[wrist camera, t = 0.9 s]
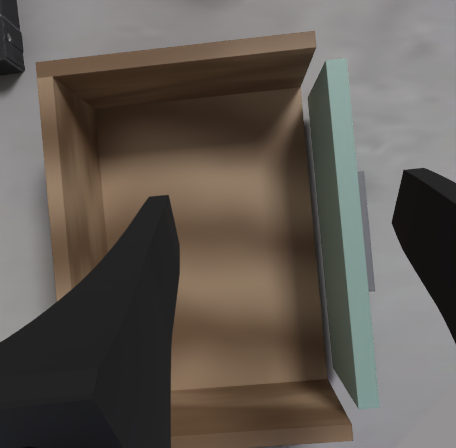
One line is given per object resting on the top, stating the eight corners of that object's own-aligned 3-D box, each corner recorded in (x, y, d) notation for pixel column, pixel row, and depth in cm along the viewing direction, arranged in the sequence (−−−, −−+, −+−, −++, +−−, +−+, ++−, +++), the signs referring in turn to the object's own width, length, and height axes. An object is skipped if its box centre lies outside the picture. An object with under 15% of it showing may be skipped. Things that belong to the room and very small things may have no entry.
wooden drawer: (323, 382, 26) (353, 440, 19) (117, 397, 26) (70, 459, 19) (296, 83, 26) (314, 30, 19) (91, 105, 26) (35, 62, 20)
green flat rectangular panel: (357, 365, 24) (390, 406, 19) (332, 367, 24) (358, 409, 19) (331, 95, 24) (357, 56, 19) (307, 97, 24) (325, 60, 19)
